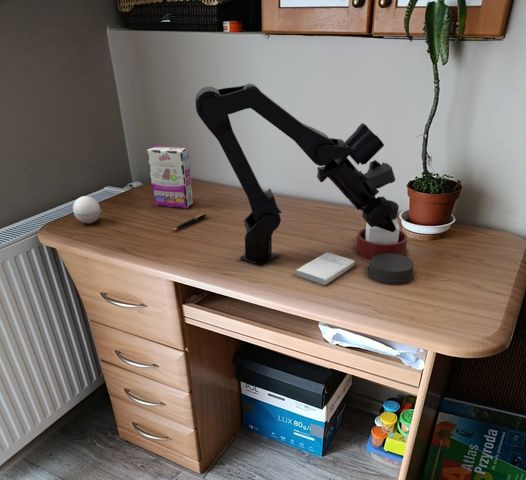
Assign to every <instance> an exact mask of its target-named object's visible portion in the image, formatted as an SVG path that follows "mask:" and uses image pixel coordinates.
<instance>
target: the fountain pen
mask: <svg viewBox="0 0 526 480" xmlns="http://www.w3.org/2000/svg"><path fill="white" fill-rule="evenodd" d="M206 217H207V214H206V213H202V214H199V215H197V216H195V217H193V218H191V219H189V220H187V221H185V222H183V223H181V224H179V225H177V226H175V228H173V229H172V231H175V230H176V231H177V230H180V229H182V228H185V227H188V226H190V225H192V224H194V223H197V222H199V221H201V220H203V219H204V218H206Z"/></svg>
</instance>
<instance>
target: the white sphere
mask: <svg viewBox="0 0 526 480" xmlns="http://www.w3.org/2000/svg"><path fill="white" fill-rule="evenodd" d="M101 212H102V209H101V206H100V204H99V202H98V201H97V200H96V199H95V198H93V197H92V196H88V195H83V196H80V197H78V198H77V199H76V200H75V201H74V202H73V205H72V213H73V215H74V217H75V218H76V219H77V220H78V221H79V222H81V223H83V224H93V223H95V222H96V221H97V220H98V219H99V218H100V216H101Z"/></svg>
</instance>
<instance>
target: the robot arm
mask: <svg viewBox="0 0 526 480" xmlns="http://www.w3.org/2000/svg"><path fill="white" fill-rule="evenodd" d="M194 102H195V110H196V114H197V115H198V117H199V118H200V120H201V121H202V123H203V124H204V125H205V126H206V128H207V129H208V130H209V132H210V133H211V134H212V135H213V136H214V137H215V139H216V140H217V141H218V143H219V145H220V147H221V149H222V150H223V153H224V155H225V156H226V158H227V160H228V163H229V164H230V167H231V168H232V170H233V172H234V174H235V176H236V178H237V180H238V182H239V183H240V186H241V187H242V189H243V191H244V193H245V195H246V197H247V201H248V203H249V206H250V209H251V212H250V213H249V214H248V216H246V217H245V218H244V219H243V223H244V224H243V225H244V227H245V231H246V233H245V236H244V255H242V256H240V261H244V262H247V263H250V264H253V265H256V266H260V267H262V266H264V265H266V264H267V263H269V262H270V261H272V260H274V259H276V258H277V254H275V253H273V250H272V248H273V247H272V242H273V237H272V236H273V234H274V231H276V230H277V229H278V228H279V227H280V224H281V222H282V220H281V215H280V214H282V210H281V207H280V204H279V203H278V201H276V198H275V196H274V193H273V191H272V189H271V188H269V189H267V190H266V191H265V189H264V188H263V187H262V186H261V184H260V182H259V180H258V178H257V176H256V174H255V172H254V170H253V169H252V166H251V164H250V162H249V160H248V158H247V156H246V154H245V152H244V150H243V148H242V146H241V143H240V142H239V140H238V138H237V136H236V134H235V132H234V130H233V126H232V124H231V120H230V117H229V115H232V114H235V113H238V112H241V111H244V110H248V109H250V110H253V111H254V112H255V113H256V114H258V115H259V116H260V117H262V118H263V119H264V120H266V121H267V122H269V123H270V124H271V125H272V126H274V127H275V128H277V130H279V131H280V132H282V133H283V134H285V135H286V136H287V137H289V138H290V139H291V140H292V141H294V142H295V144H296V145H297V146H298V147H299V148H300V149H301V150H302V151H303V153H305V155H306V156H307V157H308V158H309V160H311V162H312V163H314V164H315V165H317V168H316V169H317V173H316V178H317V180H318V181H319V182H320V183H323V182H324V181H326V179H327V178H328V179H329V180H330V181H331V182H332V183H333V184H334V185H335V187H337V188H338V190H339V191H340V192H341V193H342V195H344V197H345V198H346V199H347V200H348V201H349V202H350V203H351V204H352V205H353V206H354V207H355V209H356V210H358V211H359V210H360V211H362V215H361V217H362V218H363V219H364V221H365V222H366V224H367V223H368V224H369V225H370V226H371V227H374V226H375V227H379V228H382V229H385V230H388V231H390V232H394V231H395V230H396V227H395V225H394V223H393V221H392V219H391V217H390V215H389V212H390V211H392V209H393V206H392V205H391V204H390V203H389V202H388V201H387V200H388V199H387V198H386V197H385V196H377V197H376V195H377V194H378V193H380V191H379V190H378V189H381V188H383V187H385V186H387V185H389V184H392V183H394V182H395V181H396V177H395V173H394V169H393V167H392V165H390V164H389V163H388V162H384V161H383V162H381V163H380V162H379V161H378V160H376V159H374V160H372V161H371V159H372V158H373V157H375V155H377V153H379V152H380V151H381V150H382V149H383V148H384V147H385V144H384V142H383V141H382V140H381V139H380V137H379V136H378V135H377V134H375V133H374V132H373V130H371V129H370V128H369V127H368V126H367V125H366V124H365V122H362V123H360V125H358V127H357V128H356V130H354V132H353V133H352V134H351V135H349V137H348V138H347V139H346V140H345V141H344V140H343V139H341V138H334V137H329V136H328V135H327V134H326V133H324V132H322V131H320V130H318V129H316V128H315V127H313V126H310V125H308V124H305V123H303V122H301V121H300V120H299V119H298V118H296V117H295V116H294V115H292V114H291V113H290V112H289V111H287V110H286V109H285V108H284V107H282V106H281V105H280V104H279V103H277V102H275V101H274V100H273V99H272V98H270V97H269V96H268V95H266V94H265V93H264V92H262V91H261V90H260V88H258V86H257V85H256V84H254V83H247V84H245V85H239V86H230V87H223V88H215V87H213V86H204V87H201V88H200V90H198V92H197V93H196V95H195V100H194ZM348 157H350V158H351V160H353V161H354V163H355V164H356V165H357V166H359V165H360V164H361V166H363V165H367V163H368V162H369V161H370V162H369V165H368V170H367V171H366V172H365V173H363V172H362V171H361V170H359V169H358V168H357V167H356V166H355V165H354V164H353V163H352V161H350V159H349V158H348Z"/></svg>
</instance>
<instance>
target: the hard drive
mask: <svg viewBox="0 0 526 480" xmlns="http://www.w3.org/2000/svg"><path fill="white" fill-rule="evenodd" d="M355 266H356V261H355V260H354V259H351V258H347V257H344V256H341V255H337V254H334V253H331V252H329V251H327V252H324V253H323V254H321V255H319V256H318V257H316V258H314V259H313V260H310V261H309V262H307V263H305V264H304V265H302V266H301V267H298V268H297V269H295V270H294V271H295V273H294V274H295V276H296V277H298V278H301V279H304V280H306V281H310V282H313V283H316V284H319V285H322V286H327V285H328V284H329V283H331V282H332V281H334V280H336V279H337V278H339V277H340V276H341V275H343V274H345V273H346V272H347V271H349V270H350V269H352V268H354V267H355Z"/></svg>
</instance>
